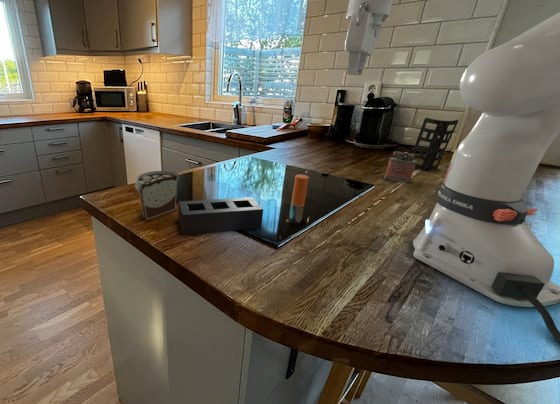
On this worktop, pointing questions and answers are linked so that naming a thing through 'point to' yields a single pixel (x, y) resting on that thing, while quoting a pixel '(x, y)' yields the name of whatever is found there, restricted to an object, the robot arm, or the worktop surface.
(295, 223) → the orange cylinder
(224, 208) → the pen holder
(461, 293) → the worktop surface
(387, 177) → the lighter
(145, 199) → the food container
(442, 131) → the holder
